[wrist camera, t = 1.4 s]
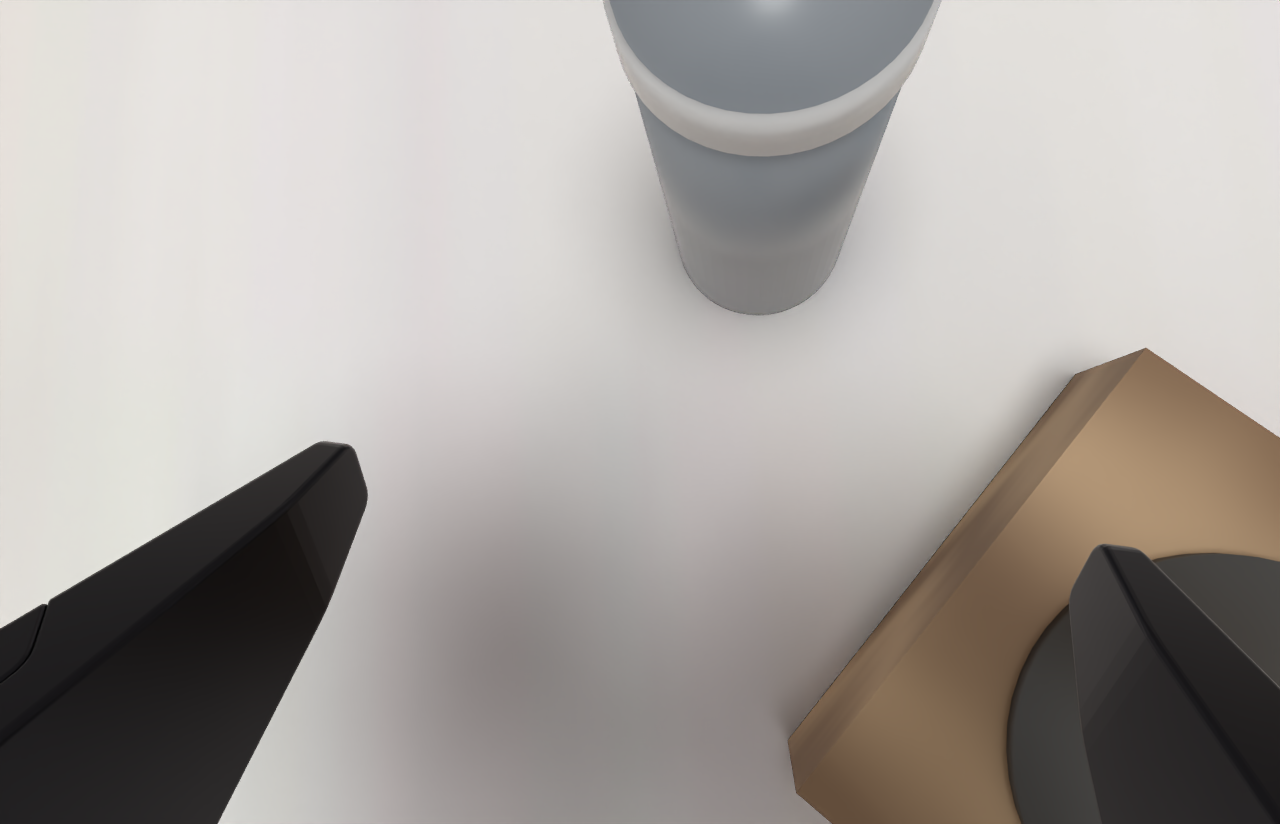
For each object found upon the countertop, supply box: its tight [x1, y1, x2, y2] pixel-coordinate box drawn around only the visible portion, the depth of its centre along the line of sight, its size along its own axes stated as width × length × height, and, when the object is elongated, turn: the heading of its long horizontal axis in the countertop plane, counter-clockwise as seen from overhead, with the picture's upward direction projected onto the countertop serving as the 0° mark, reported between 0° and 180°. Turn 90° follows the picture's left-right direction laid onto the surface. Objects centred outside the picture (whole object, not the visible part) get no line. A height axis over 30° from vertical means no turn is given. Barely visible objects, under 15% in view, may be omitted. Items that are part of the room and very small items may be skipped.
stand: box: [788, 348, 1280, 824], centre depth 19 cm, size 13×13×4 cm
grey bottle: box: [603, 0, 941, 315], centre depth 17 cm, size 5×5×13 cm
